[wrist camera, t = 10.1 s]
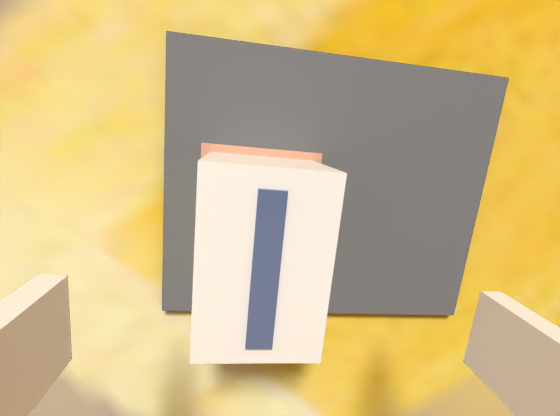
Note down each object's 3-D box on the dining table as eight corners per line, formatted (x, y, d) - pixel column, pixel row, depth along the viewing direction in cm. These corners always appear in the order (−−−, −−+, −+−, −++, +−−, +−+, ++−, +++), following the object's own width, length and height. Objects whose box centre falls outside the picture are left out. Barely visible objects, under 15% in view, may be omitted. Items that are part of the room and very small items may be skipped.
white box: (297, 299, 21) (321, 365, 15) (203, 297, 20) (188, 366, 14) (313, 160, 19) (348, 173, 13) (210, 151, 18) (197, 160, 12)
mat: (501, 79, 20) (510, 77, 19) (448, 310, 24) (454, 316, 23) (168, 34, 17) (165, 30, 16) (164, 305, 21) (161, 311, 20)
